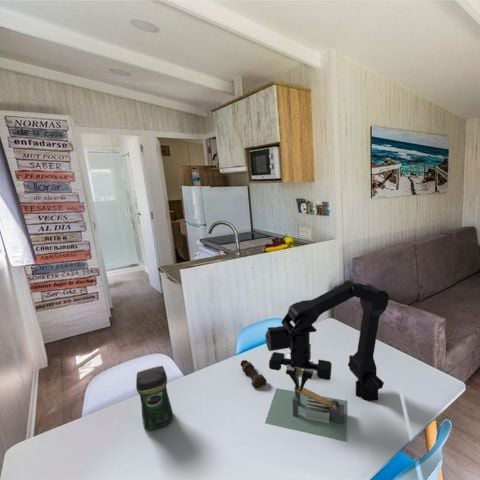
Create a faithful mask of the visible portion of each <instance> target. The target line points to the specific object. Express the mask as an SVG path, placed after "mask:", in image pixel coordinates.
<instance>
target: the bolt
mask: <svg viewBox="0 0 480 480" xmlns="http://www.w3.org/2000/svg"><path fill="white" fill-rule="evenodd" d="M240 367H242V369H241V371H243V373H244V374H245V376H248V377H249V378H250V380H251V383H250V384H251V386H252V387H253V388H254V389H255V390H257V389H258V388H262V387H264V386H266V384H267V379H266V377H264V375H263V374H262V373H260V374H259V373H258V372H257V371H256V369H255V366H254V365H253V364H252V362H251V361H248V360H246V359H245V360H244V359H243V360H241V361H240Z"/></svg>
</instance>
